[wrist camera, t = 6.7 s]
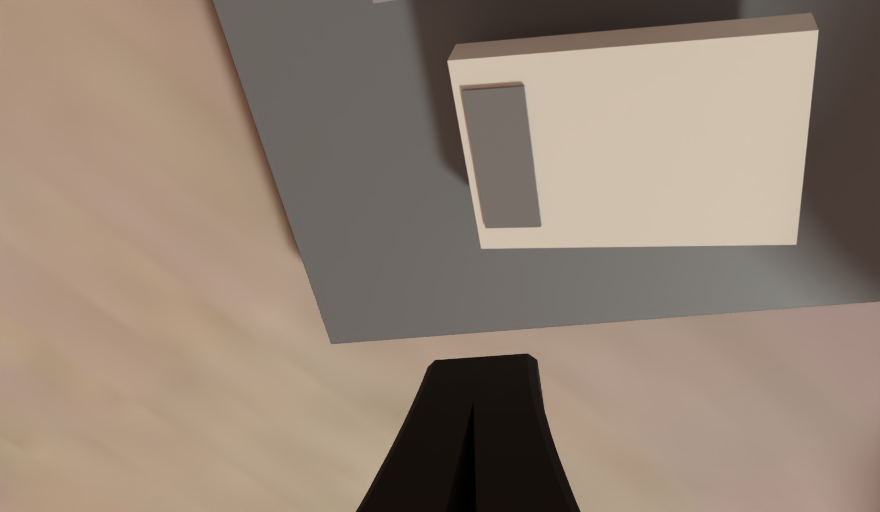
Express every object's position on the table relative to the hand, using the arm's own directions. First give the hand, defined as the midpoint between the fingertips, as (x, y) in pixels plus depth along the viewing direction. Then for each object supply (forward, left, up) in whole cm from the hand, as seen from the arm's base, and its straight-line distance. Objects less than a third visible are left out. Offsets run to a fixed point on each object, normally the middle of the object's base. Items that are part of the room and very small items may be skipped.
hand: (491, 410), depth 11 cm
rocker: (-2, 0, -7) cm, 7 cm away
